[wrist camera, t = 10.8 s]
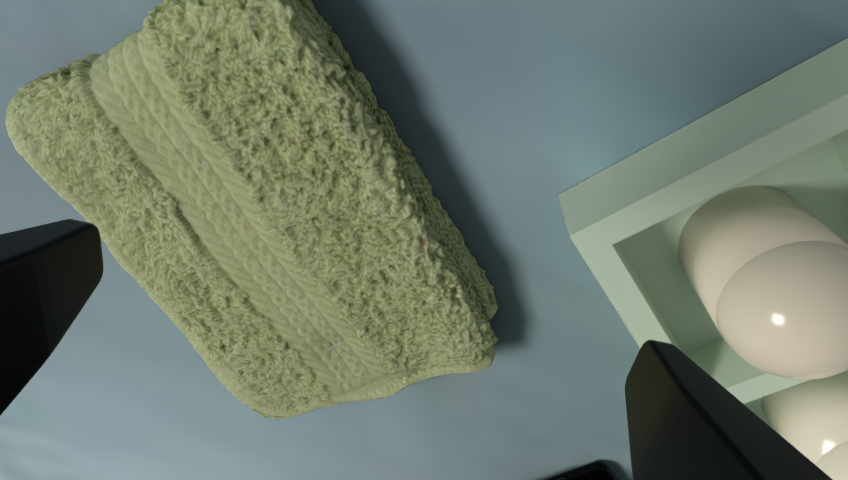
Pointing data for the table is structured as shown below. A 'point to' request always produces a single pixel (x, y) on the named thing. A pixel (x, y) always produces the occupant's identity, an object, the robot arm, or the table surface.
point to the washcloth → (262, 204)
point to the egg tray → (699, 182)
